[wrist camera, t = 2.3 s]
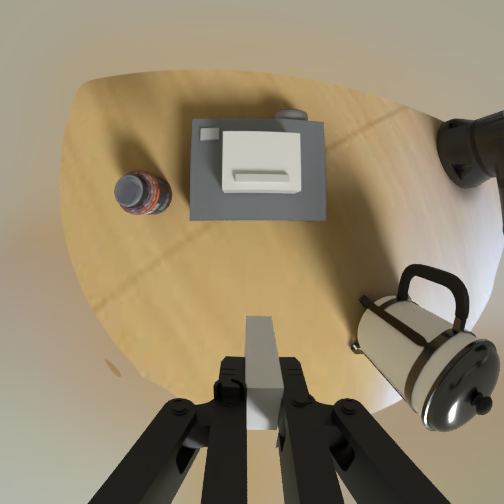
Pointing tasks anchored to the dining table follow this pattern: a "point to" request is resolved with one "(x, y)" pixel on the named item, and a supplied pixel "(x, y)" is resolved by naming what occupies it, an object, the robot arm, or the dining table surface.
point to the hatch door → (261, 162)
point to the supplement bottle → (142, 193)
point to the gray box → (256, 204)
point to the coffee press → (430, 353)
